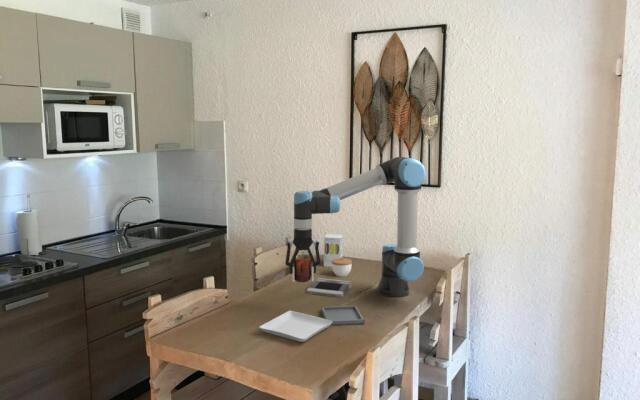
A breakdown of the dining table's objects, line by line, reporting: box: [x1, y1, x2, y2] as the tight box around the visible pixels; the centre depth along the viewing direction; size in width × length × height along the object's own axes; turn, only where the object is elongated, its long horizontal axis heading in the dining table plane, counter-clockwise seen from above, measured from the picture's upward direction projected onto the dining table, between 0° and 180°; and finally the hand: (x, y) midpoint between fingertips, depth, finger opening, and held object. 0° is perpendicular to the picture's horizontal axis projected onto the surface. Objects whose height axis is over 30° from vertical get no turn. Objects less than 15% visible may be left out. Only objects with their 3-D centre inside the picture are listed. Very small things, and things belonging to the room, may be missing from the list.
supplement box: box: [323, 233, 344, 268], centre depth 306 cm, size 10×9×17 cm
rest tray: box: [321, 305, 365, 327], centre depth 226 cm, size 15×17×2 cm
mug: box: [293, 254, 312, 283], centre depth 232 cm, size 12×9×10 cm
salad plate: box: [259, 310, 332, 343], centre depth 212 cm, size 21×21×3 cm
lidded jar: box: [331, 256, 353, 277], centre depth 287 cm, size 11×11×9 cm
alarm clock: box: [306, 277, 352, 298], centre depth 262 cm, size 17×5×16 cm
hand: (302, 280), depth 233 cm, fingers closed on mug, 7 cm apart
